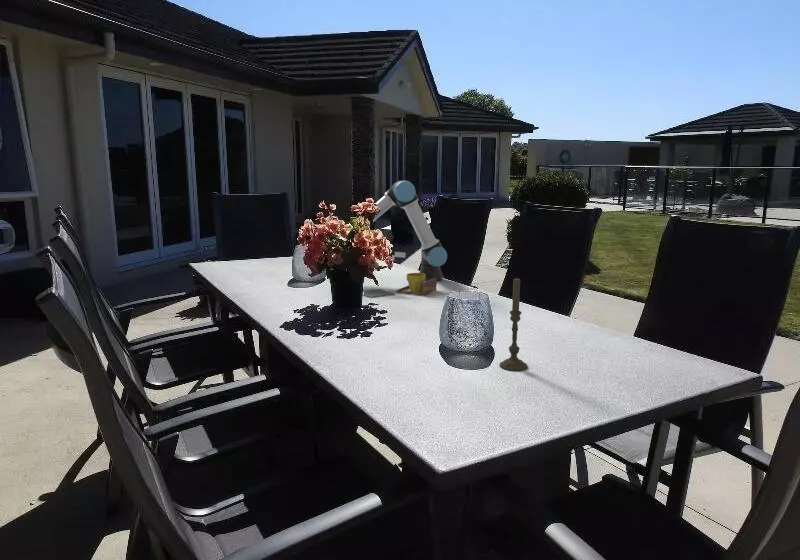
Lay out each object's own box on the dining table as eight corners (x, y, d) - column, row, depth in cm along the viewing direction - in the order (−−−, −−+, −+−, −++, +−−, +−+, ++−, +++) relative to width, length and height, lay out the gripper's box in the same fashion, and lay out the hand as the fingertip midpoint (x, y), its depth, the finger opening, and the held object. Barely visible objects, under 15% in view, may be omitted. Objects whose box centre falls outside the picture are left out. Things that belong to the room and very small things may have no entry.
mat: (379, 290, 310) (379, 289, 310) (394, 294, 298) (394, 293, 298) (356, 293, 302) (356, 292, 302) (370, 297, 290) (370, 296, 290)
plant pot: (404, 292, 303) (404, 275, 301) (409, 289, 312) (409, 272, 311) (422, 294, 300) (422, 276, 298) (427, 290, 309) (427, 273, 308)
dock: (395, 292, 302) (395, 280, 301) (408, 287, 317) (408, 275, 316) (424, 295, 295) (424, 282, 294) (436, 290, 310) (436, 277, 308)
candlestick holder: (528, 363, 186) (531, 275, 181) (527, 372, 178) (531, 280, 172) (500, 361, 189) (503, 274, 183) (498, 369, 180) (501, 278, 175)
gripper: (377, 258, 328) (409, 260, 319) (355, 263, 306) (389, 266, 297) (377, 245, 327) (409, 247, 317) (355, 249, 305) (389, 252, 295)
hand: (399, 256), depth 307 cm, fingers open, 13 cm apart
